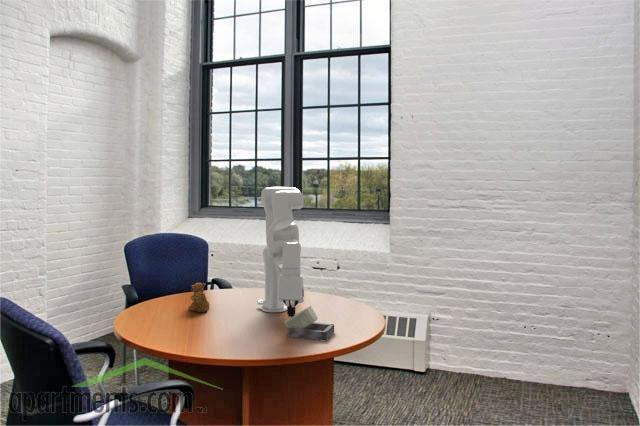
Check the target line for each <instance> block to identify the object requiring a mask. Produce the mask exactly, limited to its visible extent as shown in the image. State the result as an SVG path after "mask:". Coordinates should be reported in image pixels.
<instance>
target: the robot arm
mask: <svg viewBox="0 0 640 426" xmlns="http://www.w3.org/2000/svg"><path fill="white" fill-rule="evenodd" d="M260 195H261V198H260V199H261V203H262V206H263V209H264V211H265V241H266V246H265V247H264V249H263V251H262V256H263V265H264V299H263V300H262V299H258V300H257V305H260V306H261V305H262V306H261V310H262V311H263V312H265V313H283V312H286V314H287V317H289V318H290V317H293V316H294V315H296V306H298V304H302V303H304V302H305V299H304V297H305V289H304V287H305V285H304V278H303V275H302V274H301V252H302V245H301V243H300V233H299V232H300V231H299V227H298V225H297V223H296V222H295V223H294V215H293V210H301V209H302V208H303V206H304V196H303V193H302V192H301V190H299V189H298V188H296V187H293V186H291V187H289V186H271V187H264V188H262V191H261V194H260ZM280 266H281V267H280Z"/></svg>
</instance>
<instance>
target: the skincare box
mask: <svg viewBox="0 0 640 426" xmlns="http://www.w3.org/2000/svg"><path fill="white" fill-rule="evenodd" d="M318 319H319V318H318V316H317V314H316V312H315V311H314V309H313V308H312V306H311V305H309V306H308V307H306V308H304V309H303V310H301V311H299V312H297V313H295V315H294V316H293V317H291V316H290V317H289V318H287V319H286V320H285V321H284V324H285V325H286V327H287V329H288V328H289V327H290V328H299V329H302V328H304V327H306V326H307V325H309V324H311V323H313V322H315V323H316V321H317V320H318Z"/></svg>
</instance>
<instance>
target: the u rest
mask: <svg viewBox="0 0 640 426" xmlns="http://www.w3.org/2000/svg"><path fill="white" fill-rule="evenodd" d="M334 334H335V324H332V323H326V322H316V321H315V322H313V323H311V324H309V325H307V326H306V327H304V328H302V329H299V328H290V327H289V328H288V327H287V337H288V338H293V337H295V338H294V339H302V338H305V339H304V340H311V339H315V340H314V341H321V340H323V341H322V342H327V341H328V340H329V338H331V336H332V335H334Z"/></svg>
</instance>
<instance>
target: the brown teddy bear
mask: <svg viewBox="0 0 640 426" xmlns="http://www.w3.org/2000/svg"><path fill="white" fill-rule="evenodd" d="M205 286H206V283H204V282H203V283H202V282H196V283H194V284H192V285H191V287H192V292H193V295H191V296H190V299H191V301H192V303H190V305H189V306H188V307H187V308H188V310H189V311H192V312H198V313H207V312H208V309H210V302H209V300H207V299H208V298H207V295H206V294H205V293H204V288H205Z"/></svg>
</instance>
